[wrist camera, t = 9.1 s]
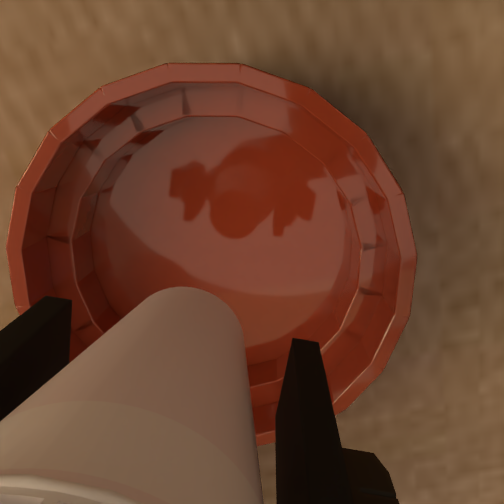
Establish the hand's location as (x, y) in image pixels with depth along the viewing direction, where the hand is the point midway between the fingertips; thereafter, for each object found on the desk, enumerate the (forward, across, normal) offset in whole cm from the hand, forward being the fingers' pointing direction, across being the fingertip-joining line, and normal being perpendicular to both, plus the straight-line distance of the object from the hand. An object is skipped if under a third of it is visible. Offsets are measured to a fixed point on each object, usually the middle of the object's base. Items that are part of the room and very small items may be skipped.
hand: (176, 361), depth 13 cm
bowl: (+11, 0, 0) cm, 11 cm away
